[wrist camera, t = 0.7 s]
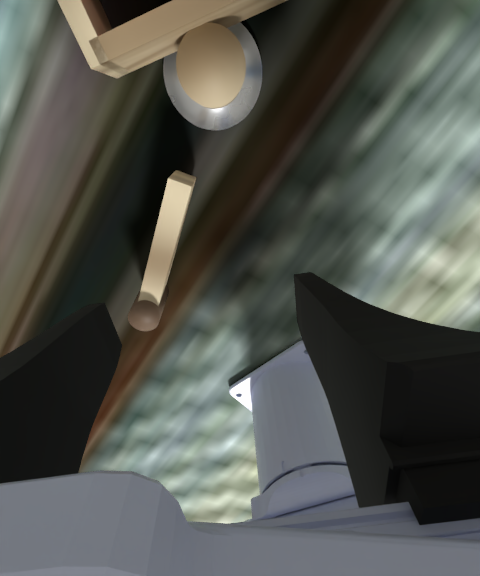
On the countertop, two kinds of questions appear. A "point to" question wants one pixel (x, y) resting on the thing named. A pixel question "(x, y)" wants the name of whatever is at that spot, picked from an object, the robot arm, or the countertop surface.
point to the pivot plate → (232, 111)
